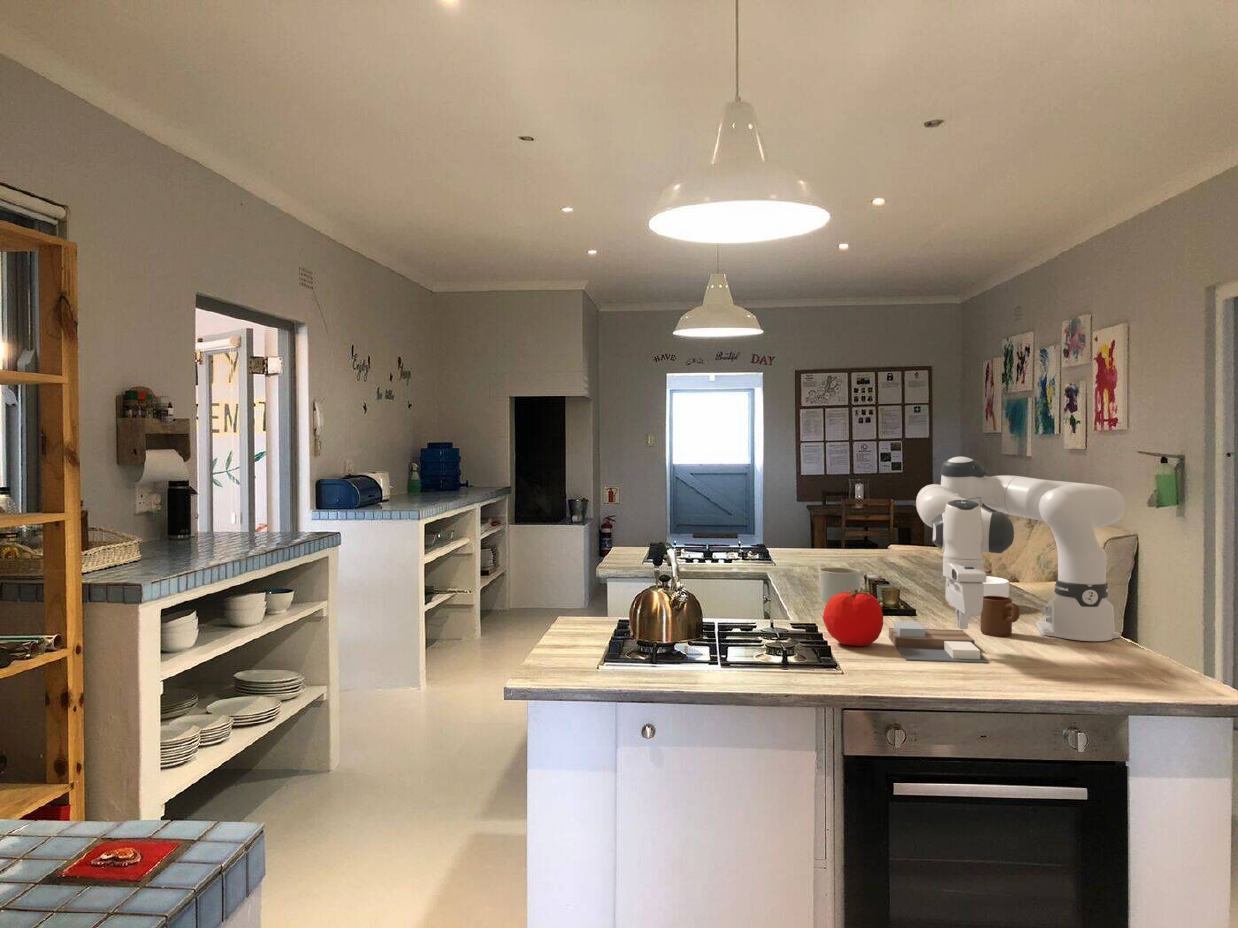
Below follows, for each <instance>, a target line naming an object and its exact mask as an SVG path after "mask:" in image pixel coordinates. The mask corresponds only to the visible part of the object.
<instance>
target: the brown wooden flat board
mask: <svg viewBox="0 0 1238 928" xmlns="http://www.w3.org/2000/svg"><path fill="white" fill-rule="evenodd" d="M888 639H889V640H890V641H891V642H892V644H893V645H894V647H895V648H896V649H897V647H907V648H938V649H944V641H958V642H971V643H972V644H973V645H974V646H976V645H975V639H974V638H973V637H971V636H970V635H969V634H967V633H966V632H965V631H964V629H936V628H925V637H900V636H899V635H898V634H897V632H896V631H895V630H894V627H888Z"/></svg>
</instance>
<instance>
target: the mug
mask: <svg viewBox="0 0 1238 928" xmlns="http://www.w3.org/2000/svg"><path fill="white" fill-rule="evenodd" d="M1020 615H1021V610H1020V607H1019V606H1018V605H1017V604H1016V603H1014V602H1013V599H1012V598H1011V597H1009V598H1008V597H1002V596H983V608H982V612H981V615H980V632H981V634H984V635H985V636H991V637H1009V636H1011V635H1012V632H1013V630H1012V628H1013V623H1016V622H1017V621H1018V620H1019V619H1020Z"/></svg>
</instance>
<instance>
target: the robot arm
mask: <svg viewBox="0 0 1238 928" xmlns="http://www.w3.org/2000/svg"><path fill="white" fill-rule="evenodd" d="M988 473H989V471H988V469H987V468H985V467H983V466H982V464H981V463H980V462H979V461H977V460H976V459H974V458H970V457H967V456H954V457H952V458H948V459H946V460H945V461H943V463H942V465H941V468H940V474H941V477H940V478H941V479H940V484H937V483H933V484H927V485H925V486H924V487H922V488H921V489H920V490H919V492H918V493H917V496H916V499H915V500H916V501H915V506H916V507H915V508H916V511H917V514H918V516H919V517H920V519H921V521H922V522H923V523H924V524H925V525H927V526H928V527H929V528H931V529H932V530H931V531H932V537H931V541H932V543H933V544H934V545H935V546H936V547H937V548H938V549H940V550H943V553H942V576H943V577H945V590H944V591H945V592H944V593H945V594H944V597H945V601H946V602H947V603H950V604H951V605H952V606H954V607H953V608H955V610H954V611H955V616H956V626H957V627H958V628H959V630H967V629H969V620H970V617H981V612H982V608H983V595H984V585H983V583H982V582H986V576H987V573H986V570H985V569H984V554H983V553H991V554H1002V553H1004V552H1005V551H1007V550H1008V549H1009V548H1010V547H1012V545H1013V542H1014V538H1015V531H1014V524H1013V522H1012V519H1011V518H1010V517H1009V516H1007V515H1010V516H1014V517H1021V518H1024V519H1031V520H1035V521H1040V522H1042V521H1043V522H1045V523H1046V524H1047V525H1048V526H1049V528H1050V530H1051V532H1052V535H1053V538H1054V541H1055V544H1056V551H1057V579H1056V580H1055V584H1054V595H1053V596H1052V597H1051V598H1050V600H1049V601H1048V603H1047V604H1046V605H1045V606H1041V607H1040V608H1041V609H1040V615H1041V616H1043V617H1044V619H1045V620H1036V622H1035V625H1036V627H1037V628H1038V631H1040V633H1041V635H1043V636H1049V637H1056V638H1060V639H1067V640H1072V641H1073V640H1074V641H1082V642H1083V641H1084V642H1108V641H1111V640H1113V639H1119V638H1121V633H1120V632H1118V631H1115V615H1114V606H1113V604H1112V603H1111V602H1109V600H1108V599H1107V598H1108V596H1109V585H1108V582H1107V553H1106V551H1105V550H1104V548H1103V547H1102V546H1101V545H1100V543H1099V542H1098V540H1097V539H1098V538H1097V536H1096V532H1095V528H1103V527H1108V526H1109V525H1113V524H1114V523H1116V522H1118V521H1119V520H1121V519H1122V518H1123V516H1124V514H1125V512H1126V507H1127V506H1126V505H1127V504H1126V501H1125V498H1124V496H1123V494H1122V493H1121V492H1120V491H1118V490H1117V489H1115V488H1113V487H1109V486H1105V485H1100V484H1094V483H1092V484H1091V483H1082V482H1071V481H1063V480H1062V481H1061V480H1049V479H1042V478H1041V479H1040V478H1034V477H1028V476H1021V475H1008V474H1007V475H993V476H987V474H988ZM983 504H984V505H985V506H983ZM989 508H990V509H989ZM993 510H994V511H993ZM952 606H951V607H952Z"/></svg>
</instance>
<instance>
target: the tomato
mask: <svg viewBox="0 0 1238 928" xmlns="http://www.w3.org/2000/svg"><path fill="white" fill-rule="evenodd" d="M868 590H869V588H866V589H864V590H859V592H858V590H857V589H855V590H854V591H851V592H850V591H846V592H843V593H840V594H837V595H834V596H833V597H832V598H830V600H829V601H828V603H827V604H826V603H825V607H824V610H823V614H822V619H823V623H824V626H825V628H826V630H827V632H828V633H829V635H830V636H831V637H832V638H833V639H835V640H836V641H837V642H838V643H840V644H842V645H845V646H854V647H865V646H869V645H871V644H872V643H874V642H876V640H878V639H879V637H880V635H881V633H882V631H883V626H884V614H883V609H882V606H881V604H880V602H879V601H878V599H877V598H876V597H875V596H874V595H872V593H869V592H866V591H868Z"/></svg>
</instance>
